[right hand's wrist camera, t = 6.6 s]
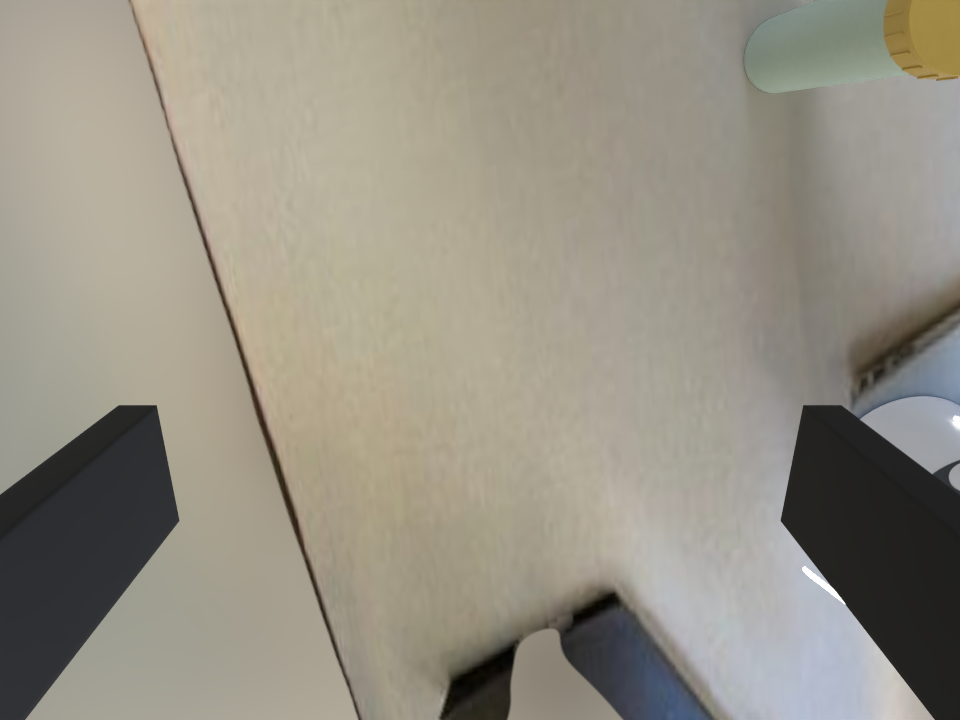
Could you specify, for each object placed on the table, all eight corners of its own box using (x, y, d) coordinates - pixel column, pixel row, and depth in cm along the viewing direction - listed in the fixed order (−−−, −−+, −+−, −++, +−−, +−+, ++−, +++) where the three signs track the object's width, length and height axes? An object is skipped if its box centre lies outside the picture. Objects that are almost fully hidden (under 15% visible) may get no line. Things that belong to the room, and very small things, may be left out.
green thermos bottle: (799, -1, 46) (1013, -90, 27) (825, 67, 47) (1043, 26, 29) (732, 41, 47) (895, -18, 28) (760, 107, 48) (930, 91, 30)
